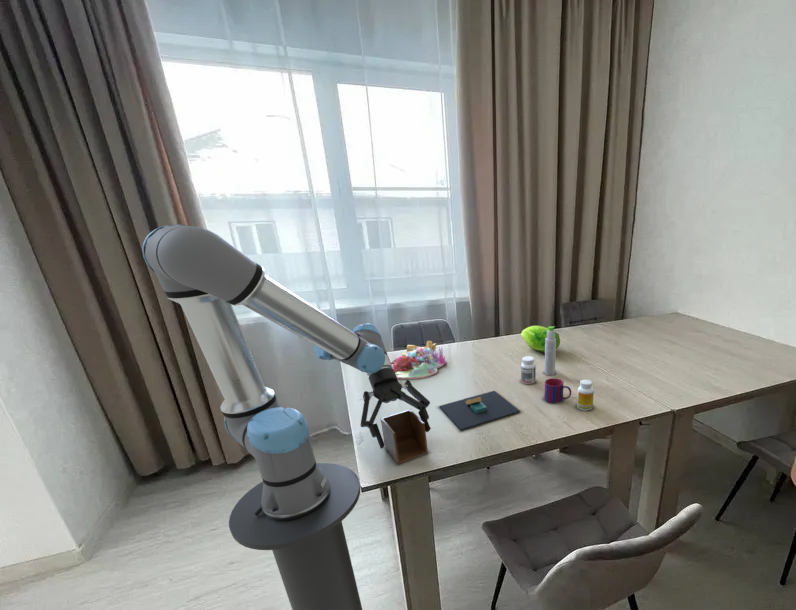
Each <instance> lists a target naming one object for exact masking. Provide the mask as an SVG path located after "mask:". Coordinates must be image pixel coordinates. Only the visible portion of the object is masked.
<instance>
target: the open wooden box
mask: <svg viewBox="0 0 796 610" xmlns="http://www.w3.org/2000/svg"><path fill="white" fill-rule="evenodd" d="M380 424H381V431H382V438H383V442H384V444H385V445H384V448H385V450H386V451H387V452H388V453H389V455H390V456H391V457H392V459H393V460H394V461H395V463H396V464H397V465H401V464H404V463H406V462H408V461H411V460H414V459H416V458H419V457H422V456H424V455H427V454H429V450H428V441H427V432H426V431H425V423H424V422H423V421H422V420H421V418H420V416H419V415H417V414H416V413H415V412H414V411H413V410H412V409H411V408H410V409H407V410H404V411H400V412H397V413H393V414H390V415H387V416H384V417H381V418H380Z"/></svg>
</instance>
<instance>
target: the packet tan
mask: <svg viewBox="0 0 796 610" xmlns="http://www.w3.org/2000/svg"><path fill="white" fill-rule="evenodd" d="M479 401H482V400H481V397H478V398H474V399H471V400H468V401H465V402H466V405H469V404H472V403H476V402H479Z"/></svg>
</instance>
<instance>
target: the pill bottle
mask: <svg viewBox="0 0 796 610" xmlns="http://www.w3.org/2000/svg"><path fill="white" fill-rule="evenodd" d="M521 361H522V362H521V364H520V381H521V383H522V384H524V385H531V384H532V385H533V384H535V382H536V380H537V379H536V373H537V371H536V368H537V367H536V363H535V357H534V356H532V355H531V356H530V355H528V356H523V357H522V358H521Z"/></svg>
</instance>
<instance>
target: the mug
mask: <svg viewBox="0 0 796 610" xmlns="http://www.w3.org/2000/svg"><path fill="white" fill-rule="evenodd" d="M564 383H565V382H564V380H562V379H560V378H556V377H551V378H547V379H545V380H544V393H543V394H544V395H543V396H544V398H543V399H544V401H545V402H547V403H549V404H559V403H561V402H563V400H568V399H570V397H571V396H572V389H571V387H570V386H568V385H564ZM564 389H567V390H568V392H569V394H568V396H567V397H564Z"/></svg>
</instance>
